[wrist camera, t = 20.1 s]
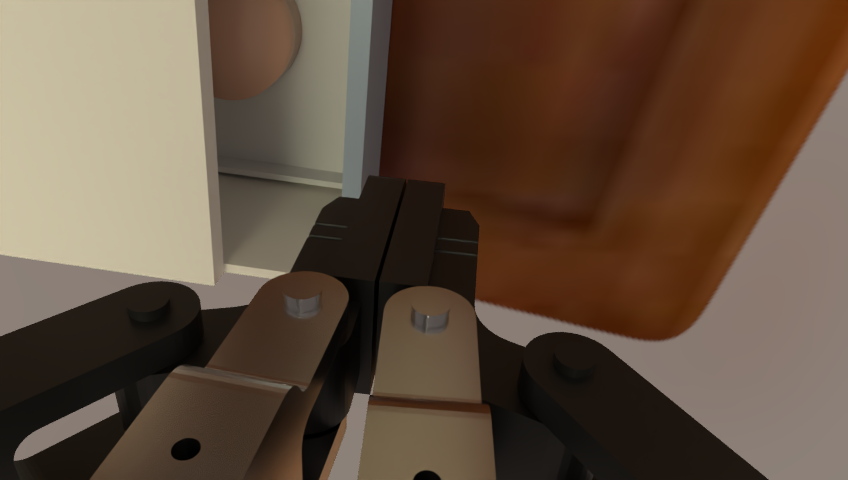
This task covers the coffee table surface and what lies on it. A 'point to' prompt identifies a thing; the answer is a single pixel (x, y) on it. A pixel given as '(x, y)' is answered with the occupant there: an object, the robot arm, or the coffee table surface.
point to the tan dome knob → (251, 44)
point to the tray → (316, 103)
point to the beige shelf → (130, 148)
